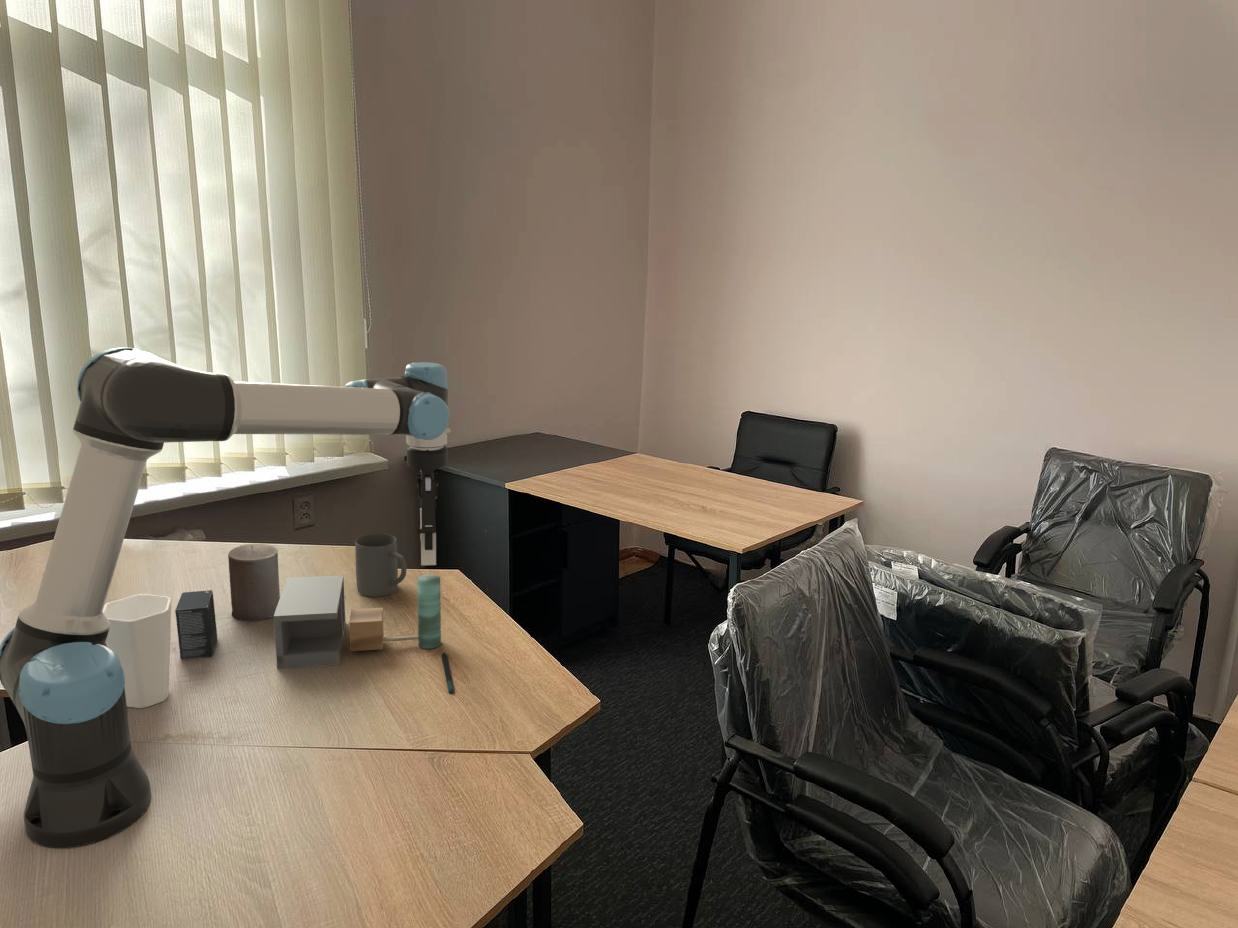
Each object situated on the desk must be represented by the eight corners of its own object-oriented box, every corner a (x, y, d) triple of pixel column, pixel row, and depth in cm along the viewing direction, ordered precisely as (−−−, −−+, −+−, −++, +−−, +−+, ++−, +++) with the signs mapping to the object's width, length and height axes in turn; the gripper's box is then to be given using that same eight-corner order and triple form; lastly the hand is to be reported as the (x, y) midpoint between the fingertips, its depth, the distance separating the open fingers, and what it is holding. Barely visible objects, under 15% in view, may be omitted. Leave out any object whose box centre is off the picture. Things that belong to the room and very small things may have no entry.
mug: (348, 590, 196) (346, 541, 193) (378, 578, 204) (377, 530, 201) (391, 606, 189) (389, 555, 186) (420, 592, 197) (420, 543, 194)
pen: (446, 654, 171) (446, 649, 170) (454, 695, 156) (454, 689, 156) (440, 655, 170) (440, 649, 170) (448, 695, 156) (448, 689, 156)
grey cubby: (338, 664, 164) (336, 612, 161) (277, 668, 161) (273, 616, 159) (345, 622, 181) (343, 575, 178) (289, 625, 178) (286, 577, 176)
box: (186, 641, 170) (181, 591, 167) (217, 638, 172) (213, 589, 169) (179, 660, 163) (174, 608, 160) (212, 657, 164) (207, 606, 162)
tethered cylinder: (441, 649, 171) (440, 584, 168) (350, 655, 167) (348, 588, 164) (440, 635, 177) (439, 572, 173) (352, 641, 173) (350, 576, 169)
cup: (118, 685, 153) (107, 596, 149) (182, 677, 157) (173, 590, 152) (106, 718, 143) (94, 624, 139) (175, 709, 147) (165, 617, 142)
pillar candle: (221, 617, 181) (216, 550, 177) (251, 598, 190) (247, 534, 186) (262, 624, 179) (258, 557, 174) (290, 605, 188) (287, 541, 184)
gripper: (450, 462, 152) (450, 575, 157) (444, 430, 175) (445, 529, 181) (406, 463, 150) (407, 577, 156) (406, 430, 173) (408, 530, 179)
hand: (427, 551), depth 168 cm, fingers open, 13 cm apart
